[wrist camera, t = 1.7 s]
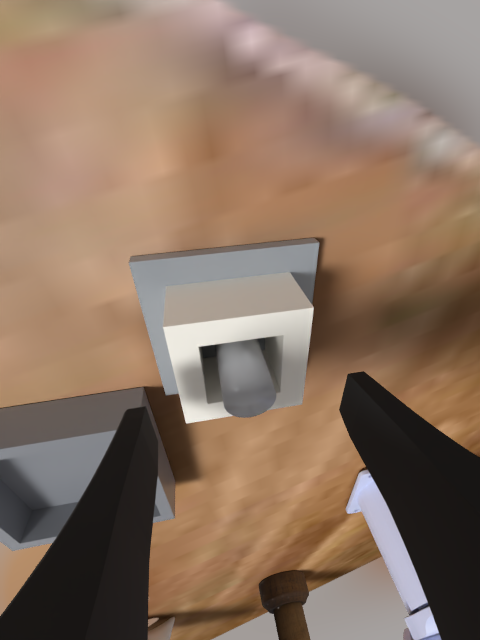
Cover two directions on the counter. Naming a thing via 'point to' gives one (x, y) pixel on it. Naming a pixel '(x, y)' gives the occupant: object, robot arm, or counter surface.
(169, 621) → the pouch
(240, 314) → the ring
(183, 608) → the counter surface
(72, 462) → the tray
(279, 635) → the brown tall wooden piece
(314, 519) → the counter surface
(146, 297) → the grey plate with post
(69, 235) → the counter surface
